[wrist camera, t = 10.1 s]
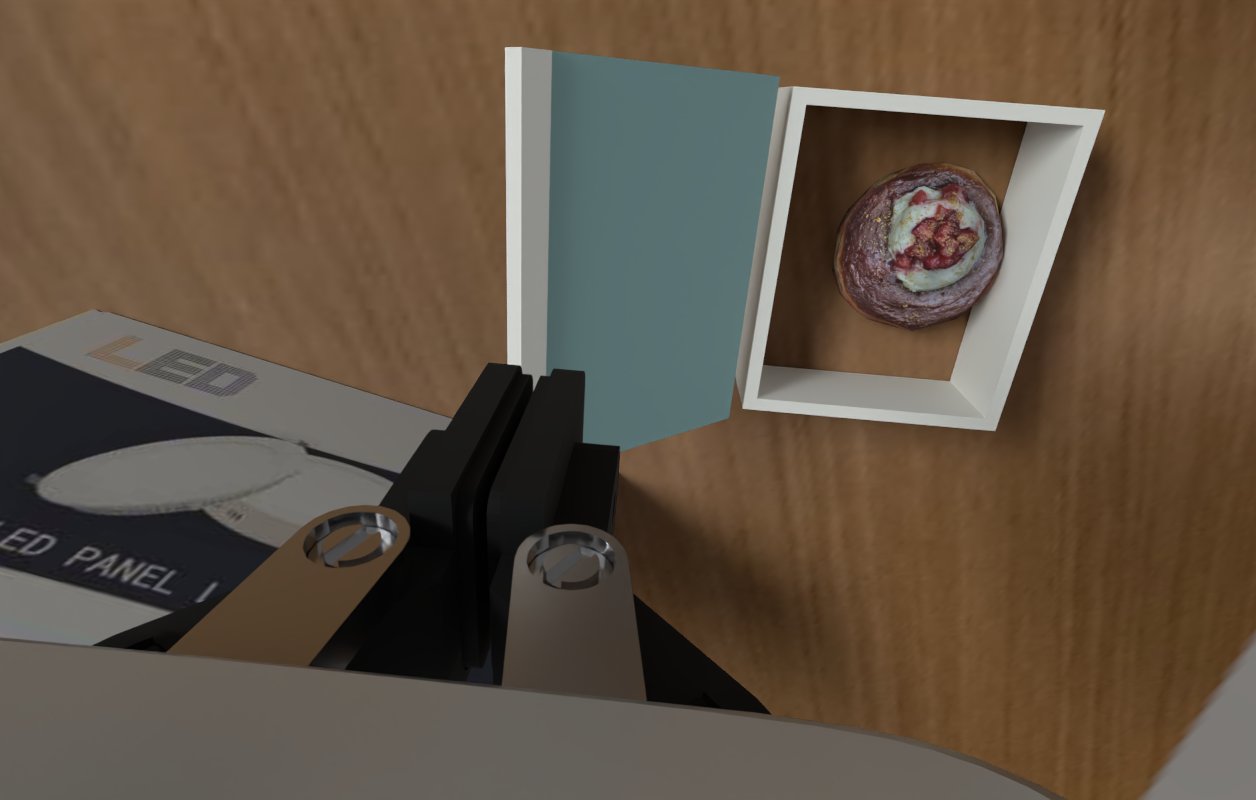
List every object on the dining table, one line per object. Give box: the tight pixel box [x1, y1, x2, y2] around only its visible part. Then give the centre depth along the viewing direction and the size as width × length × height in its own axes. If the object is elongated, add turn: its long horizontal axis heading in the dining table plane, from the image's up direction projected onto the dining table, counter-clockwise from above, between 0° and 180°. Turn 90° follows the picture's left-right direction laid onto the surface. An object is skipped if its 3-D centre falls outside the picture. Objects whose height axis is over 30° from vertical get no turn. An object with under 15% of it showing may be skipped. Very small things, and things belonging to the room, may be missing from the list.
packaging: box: [0, 309, 493, 685], centre depth 30 cm, size 30×6×20 cm, turn 72°
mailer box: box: [735, 87, 1105, 431], centre depth 31 cm, size 14×12×4 cm
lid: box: [505, 47, 780, 452], centre depth 25 cm, size 15×11×1 cm
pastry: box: [833, 163, 1003, 331], centre depth 30 cm, size 8×8×5 cm
